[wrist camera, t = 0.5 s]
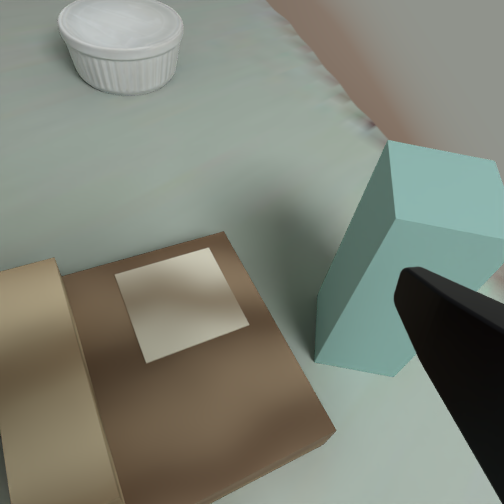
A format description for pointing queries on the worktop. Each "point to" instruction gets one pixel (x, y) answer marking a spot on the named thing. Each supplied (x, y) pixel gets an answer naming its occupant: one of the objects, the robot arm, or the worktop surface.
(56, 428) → the beam
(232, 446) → the baseplate
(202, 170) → the worktop surface
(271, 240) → the worktop surface
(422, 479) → the worktop surface
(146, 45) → the ramekin
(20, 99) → the worktop surface
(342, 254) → the column
